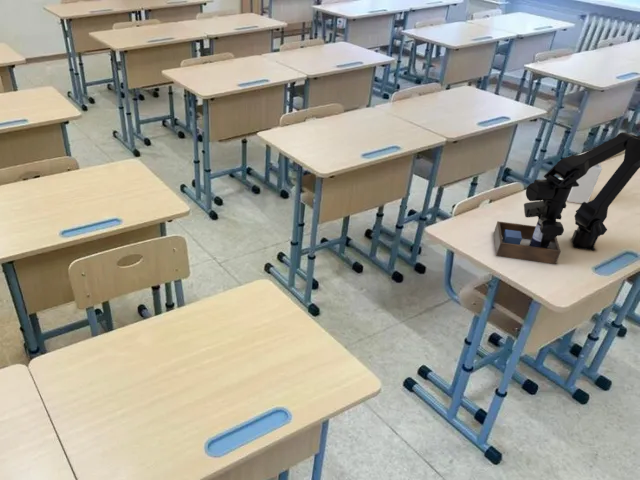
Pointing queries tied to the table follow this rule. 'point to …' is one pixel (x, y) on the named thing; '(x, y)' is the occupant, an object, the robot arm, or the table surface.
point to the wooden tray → (521, 250)
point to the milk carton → (585, 185)
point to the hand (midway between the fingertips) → (540, 239)
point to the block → (512, 237)
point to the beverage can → (538, 235)
